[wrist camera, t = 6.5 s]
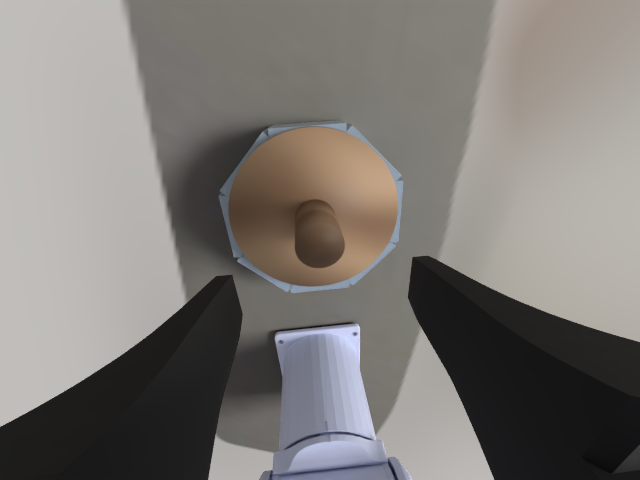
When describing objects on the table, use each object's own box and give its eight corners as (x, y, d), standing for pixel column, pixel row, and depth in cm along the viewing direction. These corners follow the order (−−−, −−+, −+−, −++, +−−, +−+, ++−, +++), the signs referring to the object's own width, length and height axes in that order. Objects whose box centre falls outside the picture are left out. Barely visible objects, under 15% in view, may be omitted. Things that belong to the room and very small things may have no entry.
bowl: (382, 261, 22) (394, 282, 19) (250, 274, 21) (244, 297, 19) (390, 116, 17) (408, 118, 14) (217, 128, 16) (202, 133, 14)
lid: (387, 273, 19) (411, 316, 15) (247, 285, 18) (234, 333, 14) (401, 120, 14) (439, 126, 10) (213, 131, 14) (181, 142, 10)
